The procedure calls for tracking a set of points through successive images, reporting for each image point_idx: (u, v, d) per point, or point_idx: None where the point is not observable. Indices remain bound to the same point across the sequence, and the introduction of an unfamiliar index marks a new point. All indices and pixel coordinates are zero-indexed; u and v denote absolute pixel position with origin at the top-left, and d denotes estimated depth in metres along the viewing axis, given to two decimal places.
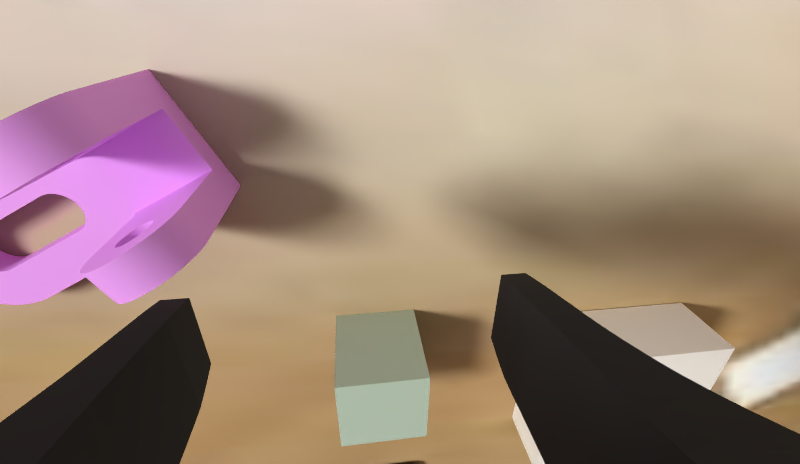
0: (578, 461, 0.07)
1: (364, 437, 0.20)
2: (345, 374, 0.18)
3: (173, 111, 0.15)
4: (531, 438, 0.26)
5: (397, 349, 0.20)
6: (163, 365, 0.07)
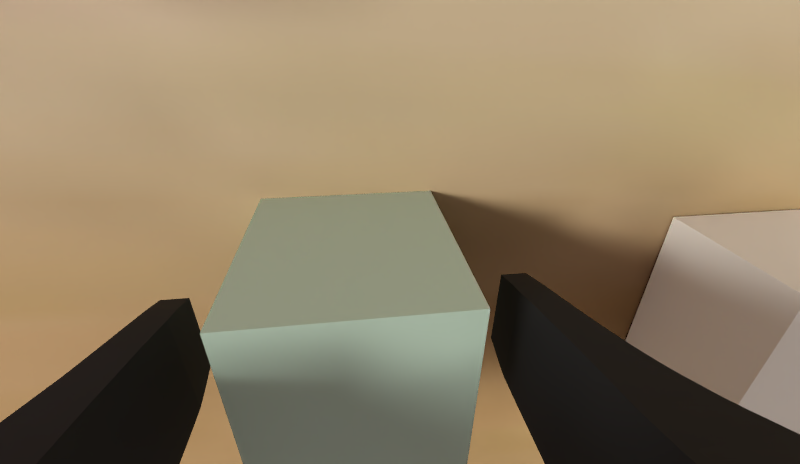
0: (578, 461, 0.07)
1: None
2: (246, 301, 0.06)
3: None
4: None
5: (395, 251, 0.08)
6: (163, 365, 0.07)
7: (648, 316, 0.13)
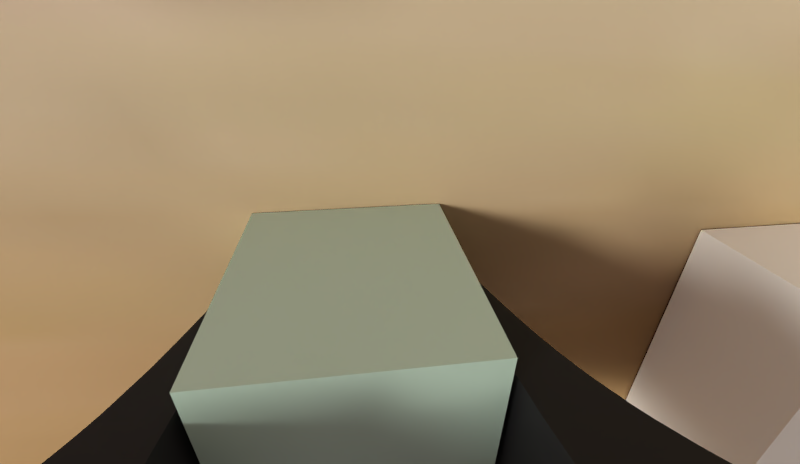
0: None
1: None
2: (227, 348, 0.05)
3: None
4: None
5: (402, 280, 0.07)
6: None
7: (670, 335, 0.12)
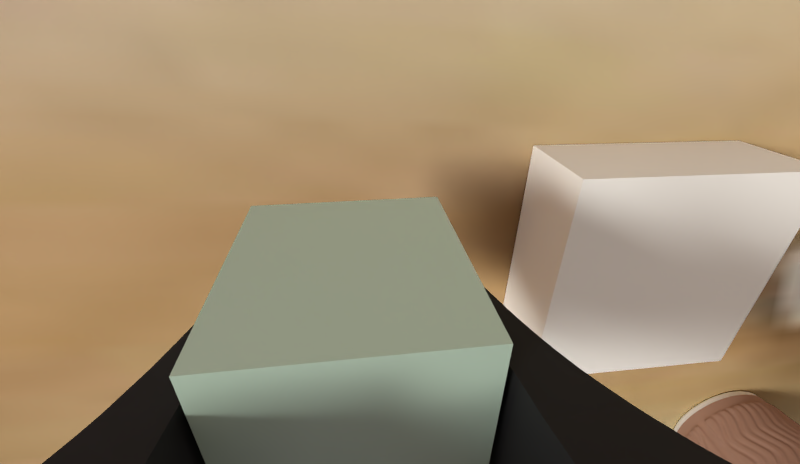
0: None
1: None
2: (226, 334, 0.05)
3: None
4: None
5: (400, 269, 0.07)
6: None
7: (524, 224, 0.18)
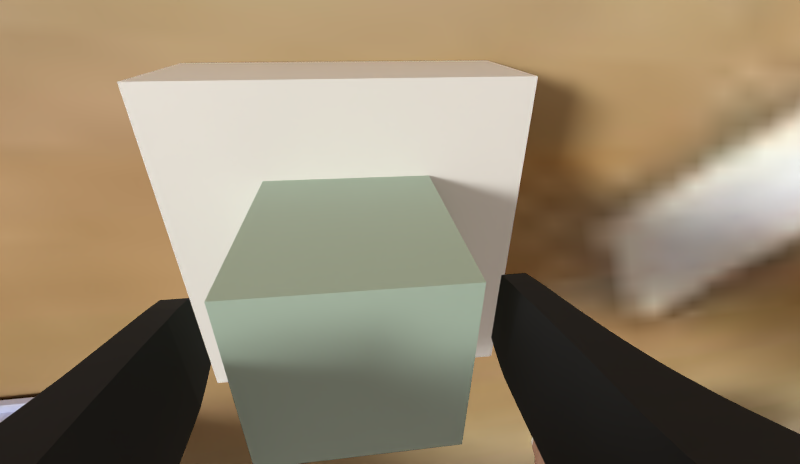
0: (578, 461, 0.07)
1: (310, 447, 0.08)
2: (249, 274, 0.07)
3: None
4: None
5: (394, 230, 0.08)
6: (163, 365, 0.07)
7: None
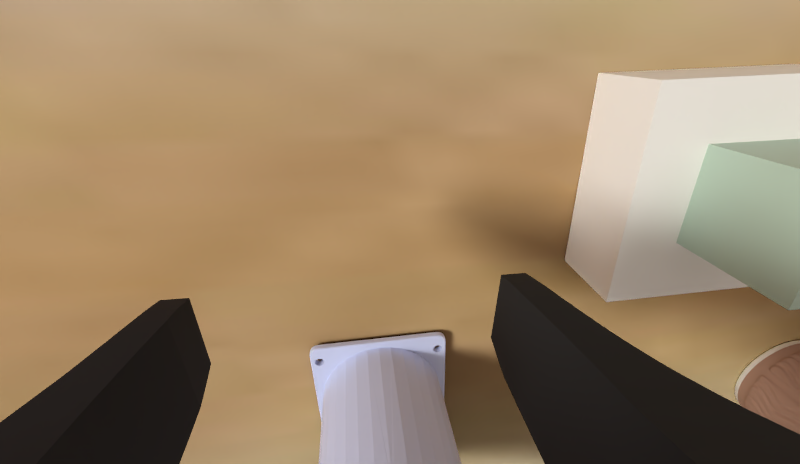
0: (578, 461, 0.07)
1: None
2: None
3: None
4: (597, 259, 0.19)
5: None
6: (163, 365, 0.07)
7: (590, 152, 0.19)
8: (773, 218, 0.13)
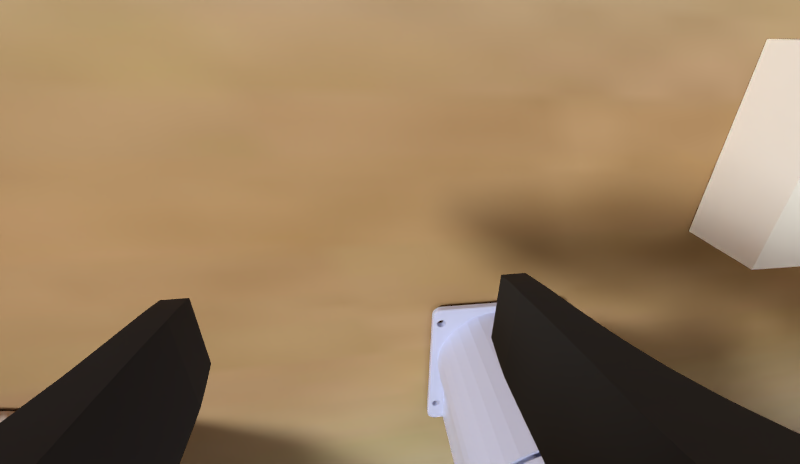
0: (578, 461, 0.07)
1: None
2: None
3: None
4: (743, 227, 0.19)
5: None
6: (163, 365, 0.07)
7: (743, 121, 0.19)
8: None
